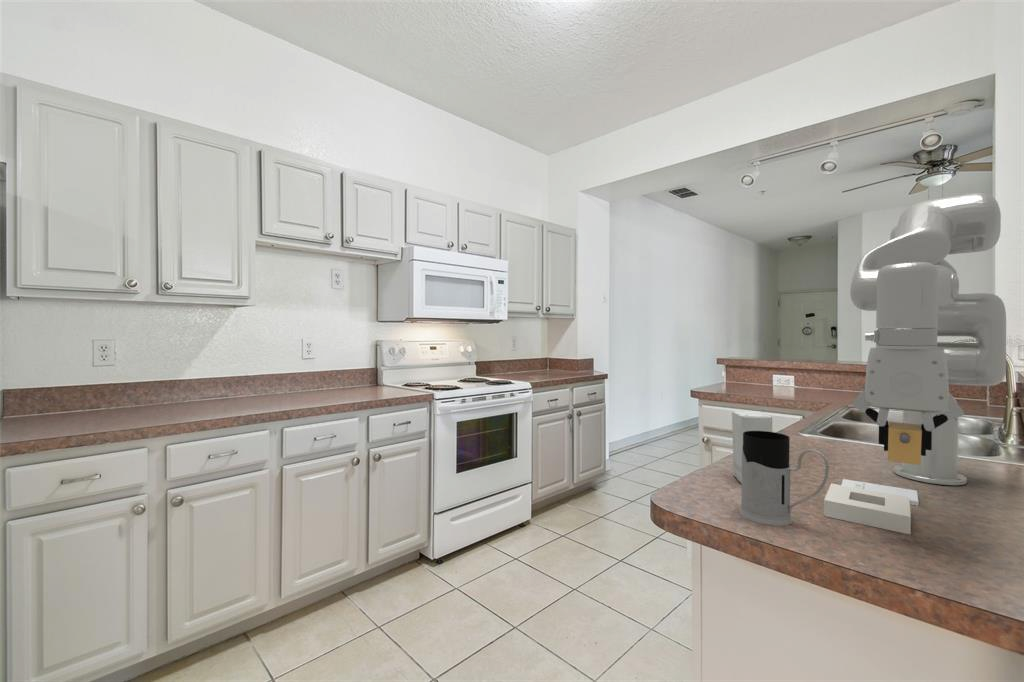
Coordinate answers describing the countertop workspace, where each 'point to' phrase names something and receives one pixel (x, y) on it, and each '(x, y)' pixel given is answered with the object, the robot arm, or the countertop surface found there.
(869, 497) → the socket
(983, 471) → the countertop surface
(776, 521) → the glass holder
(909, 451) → the plug
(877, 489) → the external hard drive
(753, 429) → the skincare box
